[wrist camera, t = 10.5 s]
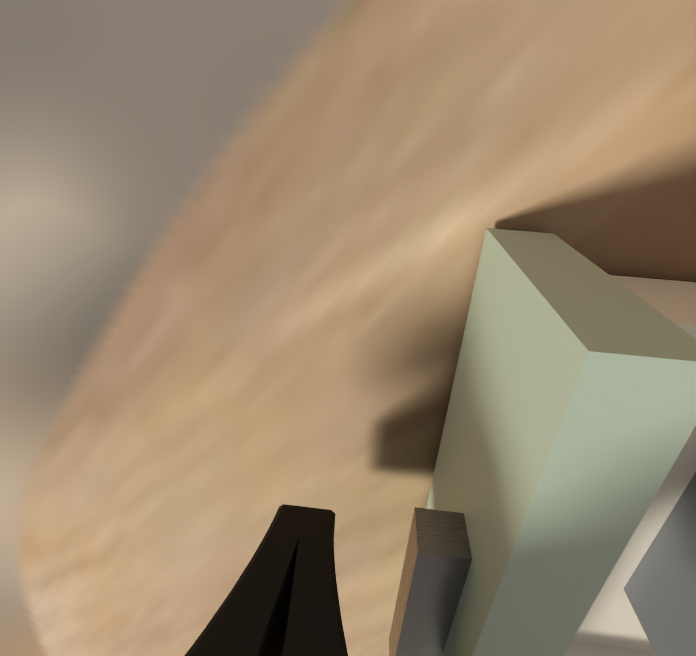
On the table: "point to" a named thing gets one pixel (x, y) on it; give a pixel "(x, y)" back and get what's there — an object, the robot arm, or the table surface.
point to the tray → (551, 458)
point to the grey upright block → (669, 582)
